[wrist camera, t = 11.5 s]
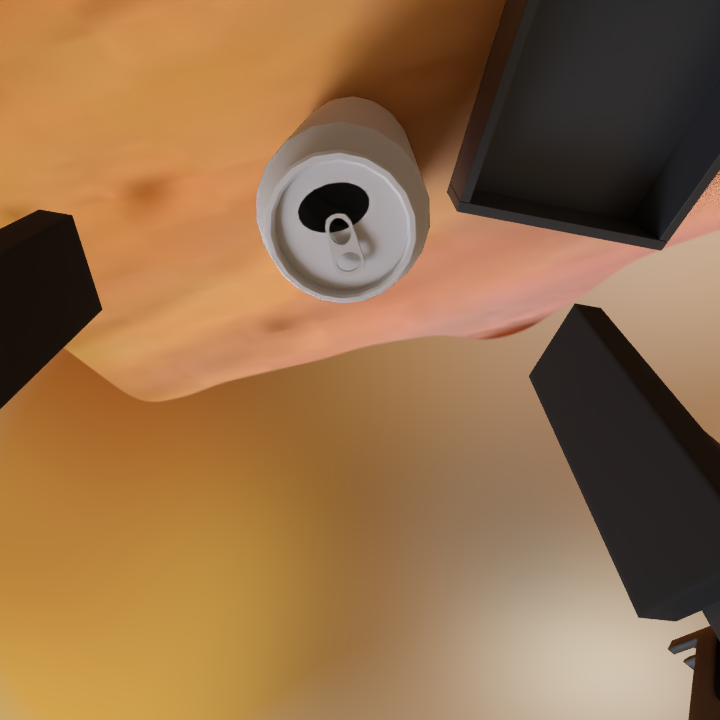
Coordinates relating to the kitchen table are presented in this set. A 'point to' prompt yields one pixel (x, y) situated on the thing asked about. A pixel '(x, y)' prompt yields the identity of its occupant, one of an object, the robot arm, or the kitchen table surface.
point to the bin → (595, 118)
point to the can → (344, 203)
